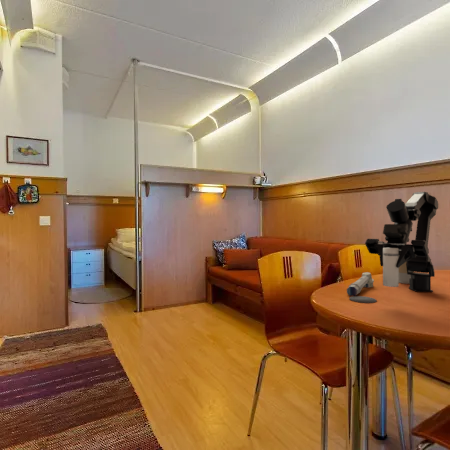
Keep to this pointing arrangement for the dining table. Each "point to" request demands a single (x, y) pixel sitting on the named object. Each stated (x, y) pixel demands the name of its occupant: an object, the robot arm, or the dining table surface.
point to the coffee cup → (403, 272)
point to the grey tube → (360, 284)
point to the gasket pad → (362, 299)
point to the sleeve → (390, 267)
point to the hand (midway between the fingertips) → (389, 266)
